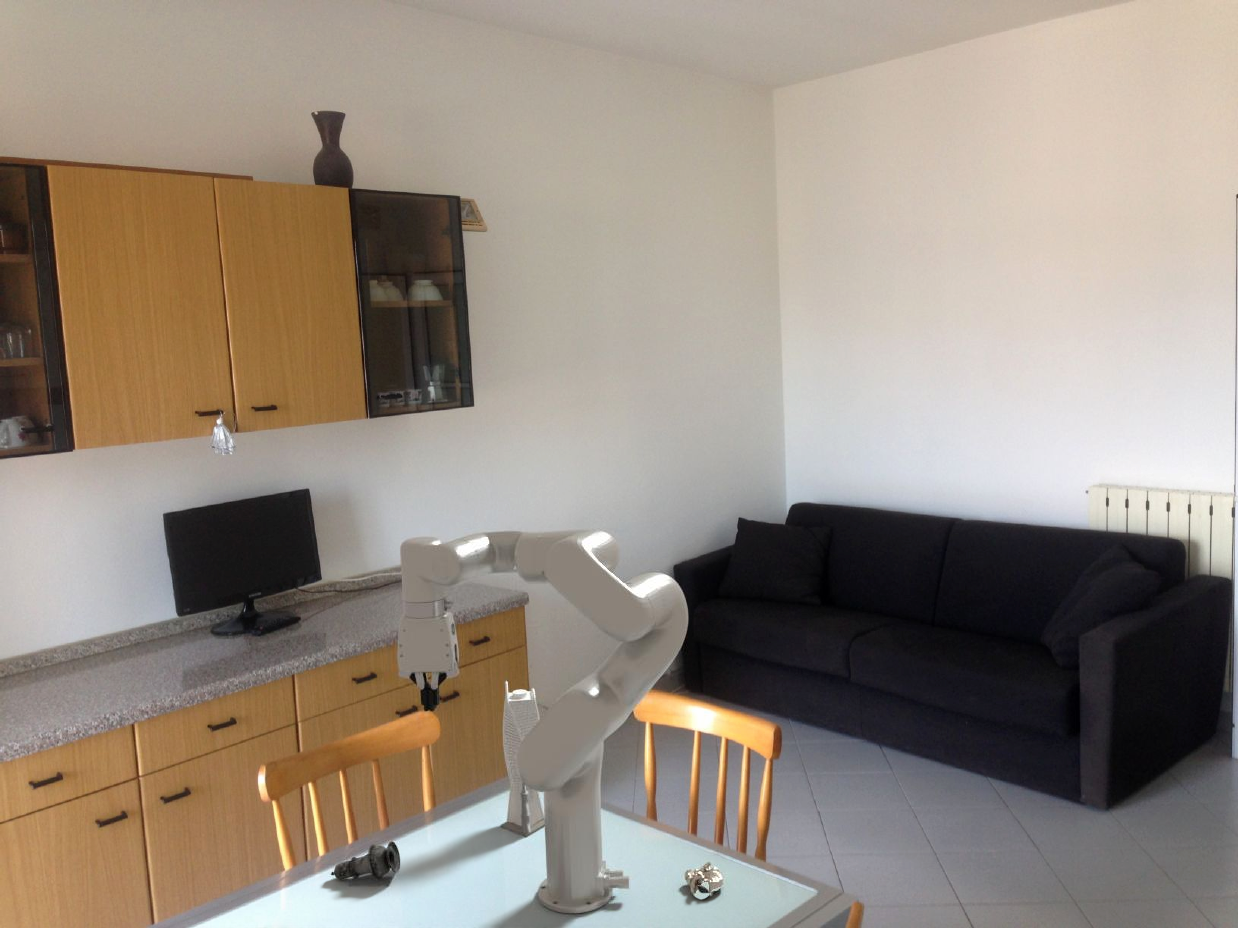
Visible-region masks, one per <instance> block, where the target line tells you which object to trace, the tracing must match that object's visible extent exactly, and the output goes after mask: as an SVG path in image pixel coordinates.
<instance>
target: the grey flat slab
mask: <svg viewBox="0 0 1238 928" xmlns="http://www.w3.org/2000/svg"><path fill="white" fill-rule="evenodd" d="M395 875H396V873H395V872H393V871H392V870H391V869H390V870H389V872H388V873H387V874H385V875H384V876H382V877H381V878H380V879H375V878H374V877H373V875H372V873H367V874H363V875H360V876H359V877H358V878H355V877H352V879H351V881H350V882H349V883H348V887H389V886H390V884H391V882H392V881H393V879H394V877H395Z"/></svg>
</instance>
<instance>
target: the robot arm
mask: <svg viewBox="0 0 1238 928" xmlns="http://www.w3.org/2000/svg"><path fill="white" fill-rule="evenodd" d="M619 548H620V547H619V545H618V543H617V540H616V539H615V538H614V537H613V536H612V535H611V534H609V533H608V532H606V531H603V530H600V529H589V528H587V529H571V530H555V531H553V530H552V531H533V532H532V531H531V532H528V531H520V530H519V531H518V530H508V531H507V530H504V531H487V532H486V531H485V532H476V533H473V534H469V535H464V536H461V537H459V538H456V539H453V540H450V541H446V542H443V541H442V540H441V539H440V538H439V537H434V536H418V537H410V538H409V539H408V538H407V539H405V540H404V541H402V543H401V545H400V548H399V549H400V550H399V551H400V553H399V555H400V570H401V571H400V572H401V573H400V574H401V590H402V592H401V593H402V606H403V614H401V616H400V618H399V625H398V634H397V664H398V665H397V666H398V673H397V675H398V677H400V678H403V679H408V680H411V682H413V683H414V685H415V686H416V687H417V689H418V690H419V691H420V704H421V706H423V711H424V712H428V711H430V712H434V711H435V710H436V708H437V707H438V706H439V705H440V703H441V702H440V701H441V699H440V698H441V697H440V685H442V683H443V682H444V681H445V680H448V679H453V678H457V677H458V675H459V674H460V668H459V666H458V663H459V661H460V652H459V644H458V636H457V630H456V624H455V619H454V615H453V613H452V612H451V611H449V610H451V609H455V608H456V602H455V600H451V599H450V600H449V598H448V595H447V588H451V587H458V586H460V585H462V584H463V585H464V584H466V583H468V582H470V581H473V580H476V579H477V578H480V577H483V576H485V575H492V574H508V573H511V574H514V573H515V574H518V576H519V578H520V579H521V580H522V581H524V582H525V583H527V584H531V585H538V584H539V585H541V584H550V585H551V586H552V587H553V588H554V589H555V591H556V592H557V593H558V594H559V595H560V596H561V597H562V598H563V599H564V600H565V601H566V602H568V603H569V605H571V606H572V607H573V608H574V609H575V610H576V611H578V612H579V614H581V615H582V616H583V617H584V618H586V619H587V620H588V621H589V622H590V623H591V624H592V625H593V626H595V627H596V628H597V629H598V630H600V632H602V633H603V634H605V635H606V636H607V637H609V638H611V639H613V640H615V641H618V644H617V645H616V646H615V647H614V649H613V650H612V652H611V653H610V654H609V656H607V658H606V659H604V661H603V662H602V663H601V664H600V665H599V666H598V668H596V670H595V671H593V673H591V674H590V675H588V676H586V677H585V678H583V679H582V680H580V681H579V682H578V683H576V684H575V685H572V686H571V687H570V688H568V689H567V690H566V691H565V692H564V693H562V694H561V695H560V696H559V697H558V698H557V699H556V700H555V701H554V702H553V703H552V705H550V707H549V708H548V709H547V710H546V711H545V713H544V714H543V715H542V717H541V718H540V720H539V721H538V722H537V724H536V725H535V726H534V727H533V728H532V730H531V731H530V732H529V733H528V734H527V736H526V737H525V738H524V739H523V741H522V742H521V744H520V746H519V748H518V750H517V754H516V769H517V773H518V775H519V777H520V779H521V781H522V782H523V783H524V784H525V785H526V786H527V787H529V788H530V789H532V790H535V791H538V792H539V793H543V813H544V820H545V827H544V838H545V839H544V840H545V842H544V843H545V868H546V878H545V879H543V880H542V882H541V883H540V884H539V886H538V890H537V893H538V896H537V897H538V899H539V901H540V903H541V904H542V905H543V906H544V907H546V908H547V909H549V910H550V911H554V912H556V913H562V914H581V913H583V914H584V913H588V912H591V911H594V910H597V909H599V908H601V907H603V906H604V905H606V904H607V903H608V902H609V901H610V900H611V898H612V896H613V891H614V889H619V890H620V889H621V890H622V889H625V890H626V889H627V890H628V889H630V875H629V876H625V875H624V870H610V868H607V861H606V860H603V843H602V842H603V841H602V840H603V837H602V834H603V833H602V814H601V813H602V810H601V809H602V808H601V806H602V799H601V794H602V793H601V781H602V779H601V777H602V766H603V765H602V764H603V757H604V741H605V740H606V739H607V738H608V737H610V735H612V734H614V733H615V732H616V731H617V730H618V729H619V728H620V727H621V726H622V725H623V724H624V723H625V722H626V721H627V719H628V718H629V716H630V715H631V713H632V712H633V711H634V710H635V709H636V707H638V705H639V704H640V703H641V701H642V700H643V699H644V698H645V697H646V696H647V695H648V693H649V692H650V691H651V690H652V688H653V687H654V685H656V683H657V682H658V680H659V679H661V677H662V676H663V675H664V673H665V672H666V671H667V670H668V669H669V667H670V666H671V665H672V663H673V662H674V660H675V659H676V657H677V656H678V654H679V652H680V651H681V648H682V646H683V644H684V643H685V642H684V641H685V638H686V635H687V633H688V632H687V631H688V626H689V609H688V604H687V601H686V600H687V599H686V597H685V594H684V592H683V589H682V588H681V586H680V585H679V583H678V582H677V581H676V580H675V579H674V578H673V577H671V576H669V575H668V574H665V573H663V572H656V571H655V572H647V573H643V574H640V575H637V576H635V577H633V578H632V579H629V580H627V581H626V582H623V581H621V580H620V579H619V578H618V577H617V576H616V575H614V574H613V573H614V572H615V570H616V569H617V566H618V564H619V562H620V549H619ZM428 673H431V680H430V682H429V678H428V675H427V674H428Z"/></svg>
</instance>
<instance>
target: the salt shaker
mask: <svg viewBox="0 0 1238 928" xmlns="http://www.w3.org/2000/svg"><path fill="white" fill-rule="evenodd" d="M400 855H401V854H400V852H399V848H398V846H397V844H396V843H395V842H394V841H393V840H392V841H388V844H387V847H385V846H384V845H379V844H378V845H375V844H371V845H370V846H369V848H368V853H367V854H365V855H362V856H359V857H355V856H353V857H351V859H350V860H349V859H348V860H346V861H343V862H339V863H337V864H336V865H335V866H334V870H333V871H332V872H330V875H331V876H335V878H336V879H337V880H339V881H342V880H346V879H350V878H353V877H355V878H358V877H359V876H360V875H363V874H367V873H372V875H373V877H374V878H375V879H380V878H381V877H382V876H384V875H385V874H387V873H388V872H389V870H392V871H393V872H395V873H398V872H399V871H400V869H401V856H400Z"/></svg>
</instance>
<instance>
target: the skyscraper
mask: <svg viewBox="0 0 1238 928" xmlns="http://www.w3.org/2000/svg"><path fill="white" fill-rule="evenodd" d="M508 684H509V683H508V681H507V680H505V681H504V688H505V695H504V705H503V716H502V746H503V747H502V748H503V755H504V762H505V767H506V770H507V772H506V773H507V775H508V780H509V783H510V786H509V794H508V795H509V797H508V803H507V804H508V805H507V815H506V821H505V822H503V823H501V824H500V825H499V828H501V829H504V830H507V831H510V832H512V833H514V834H518V835H521V836H522V837H526V838H528V837H529V836H532V834H534V833H536V832H538V831H540V830H542V829H543V828H545V820H544V807H543V804H542V801H541V797H540V792H538V791H535V790H532V789H530V788H529V787H527V786H526V785H525V784H524V783H523V782H522V781H521V779H520V777H519V775H518V773H517V769H516V754H517V750H518V748H519V746H520V744H521V742H522V741H523V739H524V738H525V737H526V736H527V734H528V733H529V732H530V731H531V730H532V728H533V727H534V726H535V725H536V724H537V722H538V721H539V720H540V719H541V718H540V712H539V709H538V703H537V700H536V699H537V698H536V691H535V688H534V687H532V688H531V691H530V690H529V691H528V690H526V689H515V690H513V691H512V692H509V686H508Z"/></svg>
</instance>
